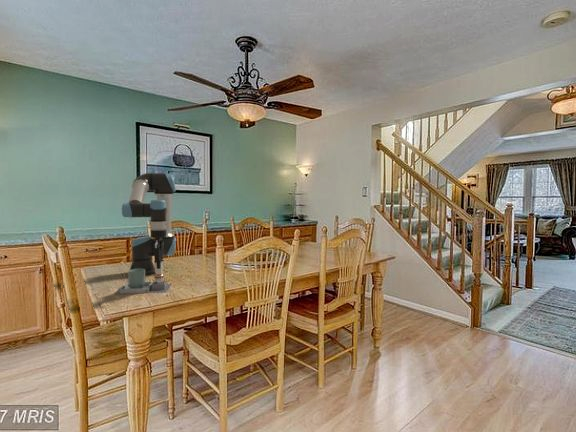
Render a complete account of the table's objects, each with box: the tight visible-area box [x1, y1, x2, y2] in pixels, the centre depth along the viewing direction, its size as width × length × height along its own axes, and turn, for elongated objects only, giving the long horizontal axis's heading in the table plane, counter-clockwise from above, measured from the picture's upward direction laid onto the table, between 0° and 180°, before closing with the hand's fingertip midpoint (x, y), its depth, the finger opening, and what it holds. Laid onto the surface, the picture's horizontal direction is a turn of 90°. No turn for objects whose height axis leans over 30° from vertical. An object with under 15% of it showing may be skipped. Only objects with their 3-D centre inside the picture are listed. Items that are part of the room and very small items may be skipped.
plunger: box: [153, 273, 165, 284], centre depth 166 cm, size 5×5×6 cm
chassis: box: [117, 280, 173, 295], centre depth 166 cm, size 16×23×5 cm
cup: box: [127, 269, 146, 289], centre depth 164 cm, size 8×8×10 cm
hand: (159, 274), depth 166 cm, fingers closed
